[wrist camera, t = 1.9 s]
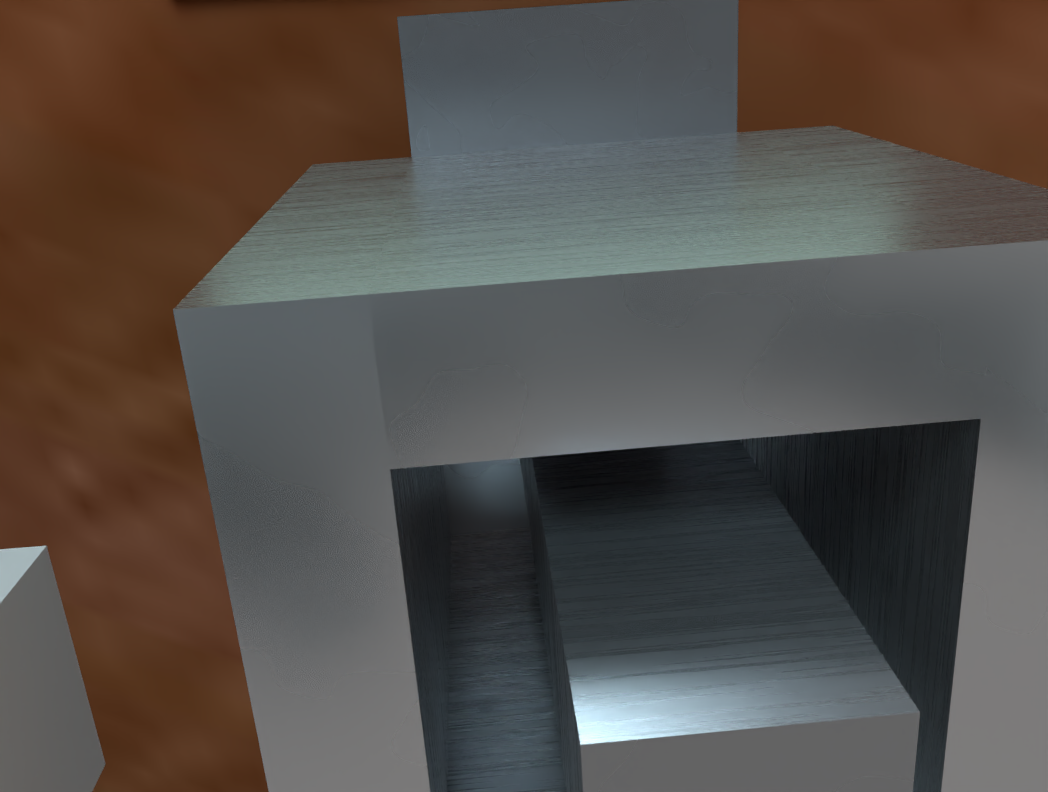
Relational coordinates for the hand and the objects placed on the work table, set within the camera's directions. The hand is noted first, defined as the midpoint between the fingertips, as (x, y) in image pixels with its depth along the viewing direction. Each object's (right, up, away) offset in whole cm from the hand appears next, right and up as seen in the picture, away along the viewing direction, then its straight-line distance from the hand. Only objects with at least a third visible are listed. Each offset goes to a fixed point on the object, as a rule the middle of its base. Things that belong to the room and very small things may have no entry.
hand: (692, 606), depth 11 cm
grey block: (-1, +4, +11) cm, 12 cm away
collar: (-1, +2, +6) cm, 7 cm away
